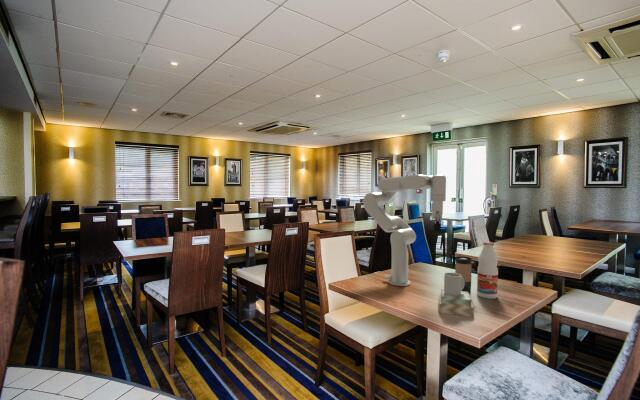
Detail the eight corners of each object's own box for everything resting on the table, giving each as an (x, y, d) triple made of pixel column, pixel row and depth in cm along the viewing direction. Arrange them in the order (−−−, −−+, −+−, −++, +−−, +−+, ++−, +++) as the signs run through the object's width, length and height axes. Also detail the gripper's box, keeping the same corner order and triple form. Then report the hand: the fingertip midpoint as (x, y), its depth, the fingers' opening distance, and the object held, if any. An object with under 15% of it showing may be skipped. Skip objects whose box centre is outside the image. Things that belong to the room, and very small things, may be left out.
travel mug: (470, 295, 171) (470, 257, 170) (471, 299, 164) (472, 260, 163) (454, 293, 173) (455, 255, 173) (455, 297, 166) (456, 258, 165)
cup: (440, 292, 153) (441, 273, 153) (458, 290, 156) (459, 271, 155) (450, 296, 146) (451, 277, 146) (469, 295, 149) (469, 275, 148)
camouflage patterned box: (439, 312, 146) (439, 297, 146) (438, 302, 159) (438, 288, 159) (473, 316, 141) (474, 300, 141) (470, 305, 155) (470, 291, 154)
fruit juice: (496, 294, 172) (497, 241, 171) (498, 300, 163) (499, 244, 162) (476, 292, 176) (477, 240, 175) (477, 297, 167) (478, 243, 166)
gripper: (430, 197, 183) (429, 228, 184) (430, 198, 167) (429, 231, 167) (444, 198, 181) (444, 228, 181) (446, 198, 164) (445, 232, 165)
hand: (437, 230), depth 174 cm, fingers open, 9 cm apart
